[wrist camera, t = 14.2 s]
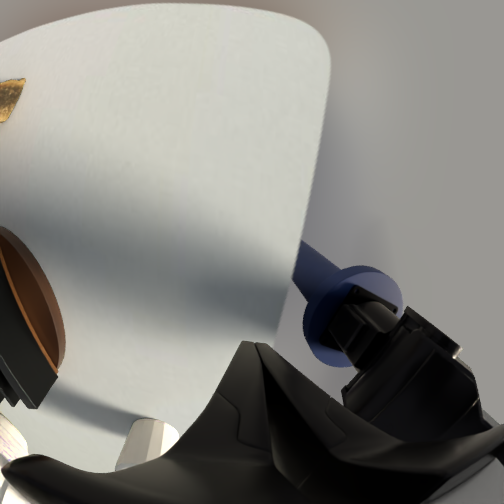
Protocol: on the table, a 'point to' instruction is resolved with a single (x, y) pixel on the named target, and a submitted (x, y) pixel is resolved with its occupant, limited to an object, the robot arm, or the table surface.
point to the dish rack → (21, 351)
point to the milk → (11, 495)
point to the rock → (9, 97)
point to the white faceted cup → (146, 442)
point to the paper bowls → (10, 442)
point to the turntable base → (34, 295)
